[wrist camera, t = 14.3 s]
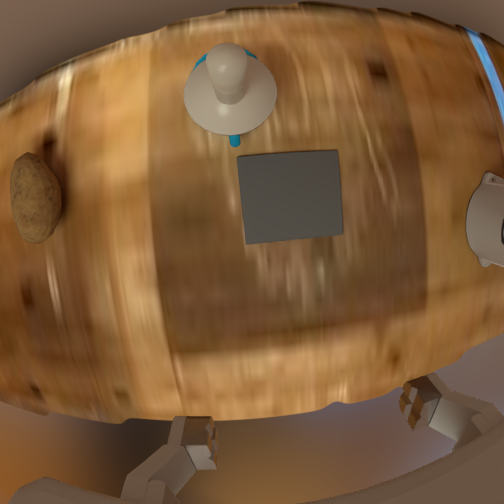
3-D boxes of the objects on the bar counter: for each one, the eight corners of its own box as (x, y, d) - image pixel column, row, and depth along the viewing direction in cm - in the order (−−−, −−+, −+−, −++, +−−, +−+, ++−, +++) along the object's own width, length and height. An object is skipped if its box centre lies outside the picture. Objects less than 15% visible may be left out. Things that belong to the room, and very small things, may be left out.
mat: (336, 150, 37) (337, 150, 37) (342, 233, 40) (342, 234, 40) (236, 157, 37) (236, 157, 36) (246, 243, 40) (246, 244, 39)
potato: (63, 143, 35) (33, 140, 27) (79, 229, 38) (51, 240, 30) (24, 164, 35) (-6, 165, 27) (39, 242, 38) (10, 254, 31)
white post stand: (270, 51, 26) (281, 9, 17) (281, 130, 29) (299, 111, 19) (182, 62, 26) (161, 23, 17) (189, 141, 28) (167, 127, 19)
